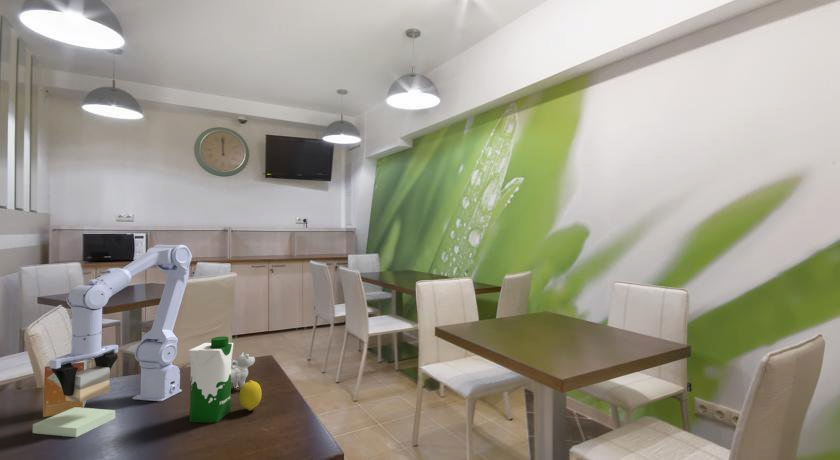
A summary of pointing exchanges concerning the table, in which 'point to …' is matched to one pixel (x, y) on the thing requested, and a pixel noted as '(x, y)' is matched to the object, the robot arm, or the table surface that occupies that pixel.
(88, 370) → the cream layered block
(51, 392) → the small box
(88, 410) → the stand
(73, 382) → the robot arm
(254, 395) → the lemon
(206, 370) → the milk carton
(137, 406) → the table surface
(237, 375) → the dog figurine
